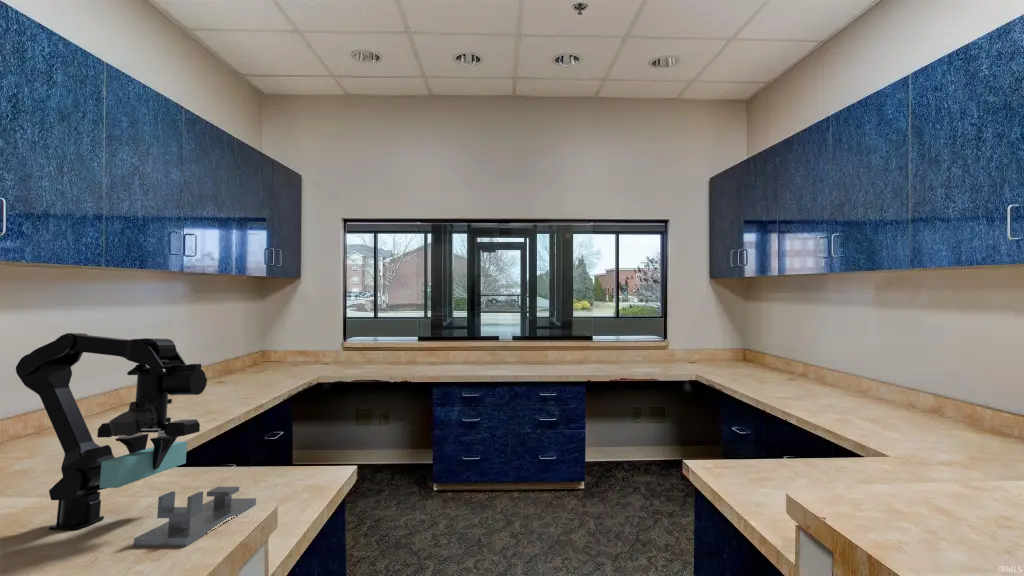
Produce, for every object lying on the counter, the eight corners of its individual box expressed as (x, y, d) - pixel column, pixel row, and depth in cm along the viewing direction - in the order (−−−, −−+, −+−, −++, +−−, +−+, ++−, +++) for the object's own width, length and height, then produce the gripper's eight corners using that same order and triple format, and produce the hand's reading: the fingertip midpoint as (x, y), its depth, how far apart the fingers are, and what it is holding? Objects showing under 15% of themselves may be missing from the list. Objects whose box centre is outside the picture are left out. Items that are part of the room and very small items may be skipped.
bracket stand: (133, 546, 91) (137, 502, 92) (214, 504, 115) (216, 470, 116) (185, 546, 91) (188, 502, 92) (255, 504, 114) (257, 469, 115)
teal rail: (99, 488, 94) (101, 461, 95) (170, 463, 114) (172, 441, 115) (117, 487, 94) (119, 461, 95) (185, 463, 114) (187, 441, 115)
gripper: (76, 400, 98) (69, 480, 96) (167, 399, 98) (161, 479, 96) (121, 394, 109) (116, 466, 107) (203, 393, 109) (199, 465, 107)
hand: (147, 469), depth 104 cm, fingers closed on teal rail, 3 cm apart
